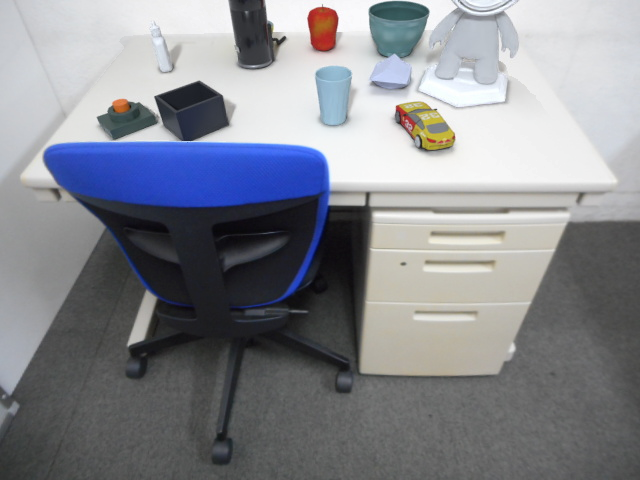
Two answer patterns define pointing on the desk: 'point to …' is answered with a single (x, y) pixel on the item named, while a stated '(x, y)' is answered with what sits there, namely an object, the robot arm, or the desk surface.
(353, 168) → the desk surface
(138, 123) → the control block
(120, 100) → the button
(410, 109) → the toy car
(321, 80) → the cup
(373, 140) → the desk surface
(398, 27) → the flower pot
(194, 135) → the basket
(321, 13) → the apple
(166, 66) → the eye dropper bottle
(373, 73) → the wedge on round base
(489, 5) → the white toy figurine
